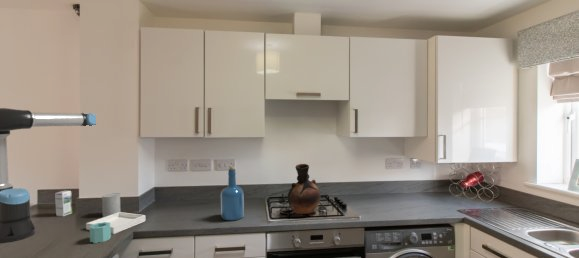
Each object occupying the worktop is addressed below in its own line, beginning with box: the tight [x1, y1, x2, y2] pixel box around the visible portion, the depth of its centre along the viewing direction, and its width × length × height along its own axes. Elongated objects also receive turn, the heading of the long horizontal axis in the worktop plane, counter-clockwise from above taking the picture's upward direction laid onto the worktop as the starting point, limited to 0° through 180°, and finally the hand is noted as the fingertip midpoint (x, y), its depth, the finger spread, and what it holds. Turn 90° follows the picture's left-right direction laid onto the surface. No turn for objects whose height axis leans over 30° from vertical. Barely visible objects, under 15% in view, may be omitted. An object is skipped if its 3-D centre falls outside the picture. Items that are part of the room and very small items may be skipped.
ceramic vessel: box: [286, 163, 322, 215], centre depth 175 cm, size 21×18×30 cm
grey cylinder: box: [101, 192, 121, 218], centre depth 177 cm, size 10×10×12 cm
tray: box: [85, 211, 146, 235], centre depth 159 cm, size 20×20×3 cm
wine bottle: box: [220, 166, 245, 221], centre depth 169 cm, size 14×13×30 cm
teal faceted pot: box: [89, 222, 112, 244], centre depth 140 cm, size 8×8×7 cm
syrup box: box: [54, 190, 73, 217], centre depth 178 cm, size 6×6×14 cm
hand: (91, 165), depth 194 cm, fingers open, 13 cm apart
